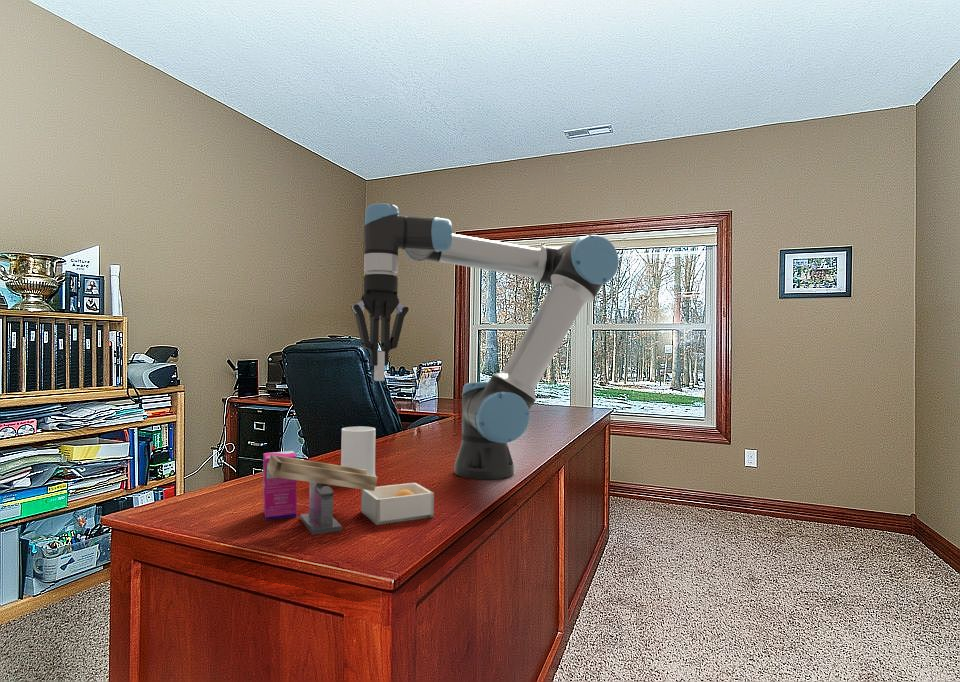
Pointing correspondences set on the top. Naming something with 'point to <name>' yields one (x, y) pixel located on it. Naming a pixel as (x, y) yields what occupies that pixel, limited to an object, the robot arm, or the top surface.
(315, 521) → the fulcrum
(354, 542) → the top surface
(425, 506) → the white storage bin
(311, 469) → the seesaw
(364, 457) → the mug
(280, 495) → the supplement box
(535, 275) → the robot arm
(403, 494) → the ball
